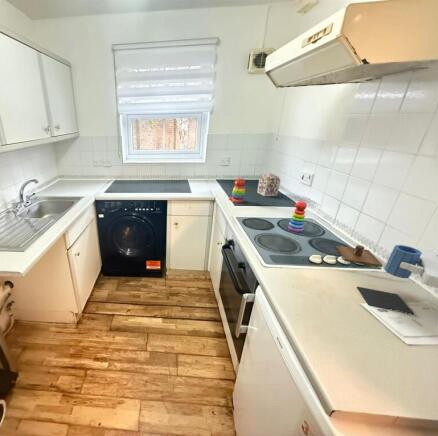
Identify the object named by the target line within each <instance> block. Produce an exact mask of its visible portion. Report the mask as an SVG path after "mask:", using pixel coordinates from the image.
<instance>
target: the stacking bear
mask: <svg viewBox="0 0 438 436" xmlns="http://www.w3.org/2000/svg"><path fill="white" fill-rule="evenodd" d="M245 184H246V180H245V179H244V178H241V177H238V178H237V179H236V180H235V181H234V187H233V189H232V193H231V195H232V196H230V197H228V200H229V201H232V203H234V204H240V203H243V202H244V201H245V199H244V198H245V196H246V186H245Z"/></svg>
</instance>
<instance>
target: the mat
mask: <svg viewBox="0 0 438 436" xmlns="http://www.w3.org/2000/svg"><path fill="white" fill-rule="evenodd" d="M356 288H357V290H358V292H359V293H360V294H361V296H362V298H363V299H364V302H366V304H367V306H370V307H376V308H380V309H384V308H385V310H389V309H392V310H391V311H394V310H399V311H403V312H407V313H406V314H408V313H411V314H410V315H415V313H414V312H413V310H412V309H411V308H410V307H409V306H408V304H407V303H406V302H405V301H404V300H403V299H402V297H400V295H399V294H398V293H395V292H388V291H383V290H377V289H373V288H366V287H362V286H356ZM399 311H398V312H399ZM403 312H402V313H403Z"/></svg>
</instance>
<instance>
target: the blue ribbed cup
mask: <svg viewBox="0 0 438 436" xmlns="http://www.w3.org/2000/svg"><path fill="white" fill-rule="evenodd" d="M417 249H418V248H415V247H411V246H408V245H404V244H396V245H394V247H393V249H392V251H391V252H390V253H391V254H390V256H389V257H388V259H387V261H386V264H385V266H384V268H383V270H384V271H385V272H386V273H387V274H389V275H391V276H392V277H396V278H400V279H409V278H410V277H411V275H412V273H413V272H411V271H409V270H407V269H404V268H401V267H400V262H401V261H404V262H408V263H409V264H412V265H414V266H417V265H416V264H417V262H418V260H419V258H420V256H421V254H422V252H420V251H419V250H417Z"/></svg>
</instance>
